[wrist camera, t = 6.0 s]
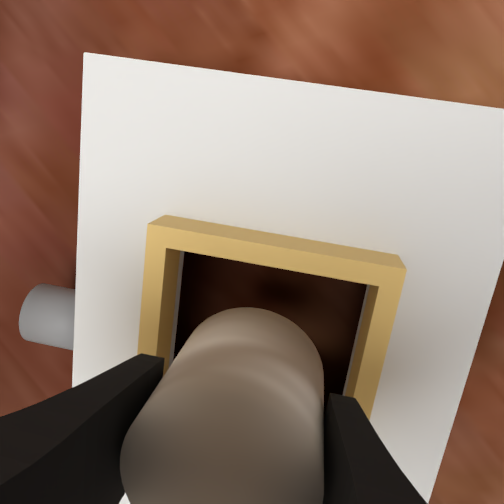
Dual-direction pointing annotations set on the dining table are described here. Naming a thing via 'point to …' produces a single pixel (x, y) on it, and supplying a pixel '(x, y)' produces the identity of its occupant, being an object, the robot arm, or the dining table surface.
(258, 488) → the cylinder
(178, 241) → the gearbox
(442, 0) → the dining table surface
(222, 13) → the dining table surface
